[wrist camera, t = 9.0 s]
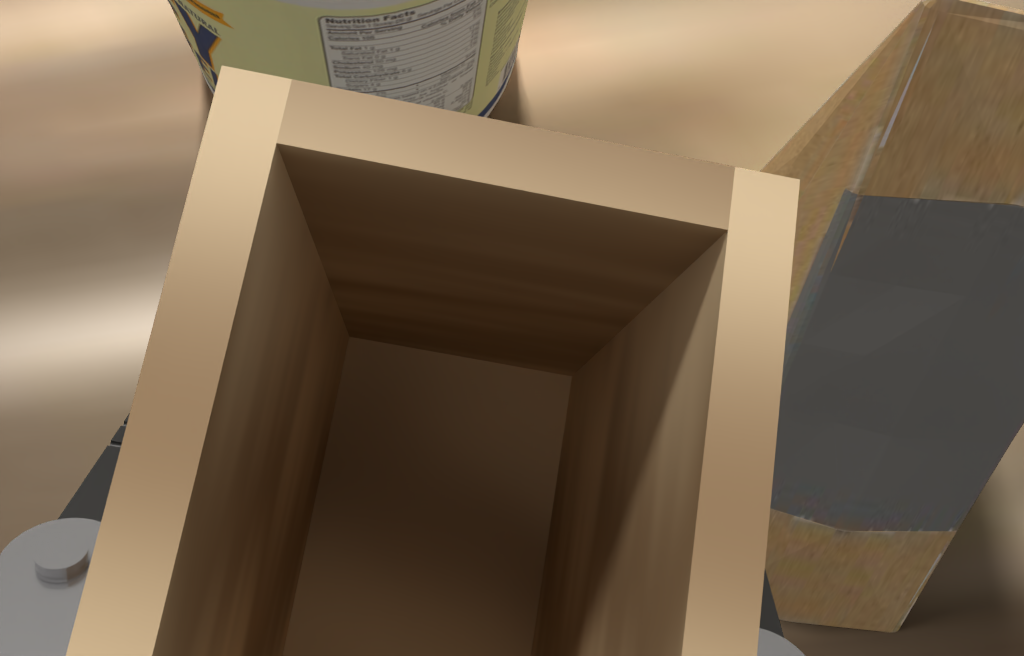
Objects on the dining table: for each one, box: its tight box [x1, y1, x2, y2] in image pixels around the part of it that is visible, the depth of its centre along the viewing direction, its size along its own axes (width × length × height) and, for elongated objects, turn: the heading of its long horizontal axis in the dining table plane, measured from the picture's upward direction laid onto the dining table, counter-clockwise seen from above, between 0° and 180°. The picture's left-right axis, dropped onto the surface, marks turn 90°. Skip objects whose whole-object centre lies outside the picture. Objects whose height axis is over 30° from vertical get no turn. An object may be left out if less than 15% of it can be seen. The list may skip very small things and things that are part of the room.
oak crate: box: [66, 65, 800, 656], centre depth 13 cm, size 9×6×10 cm, turn 171°
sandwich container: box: [760, 0, 1024, 632], centre depth 26 cm, size 9×15×15 cm, turn 172°
